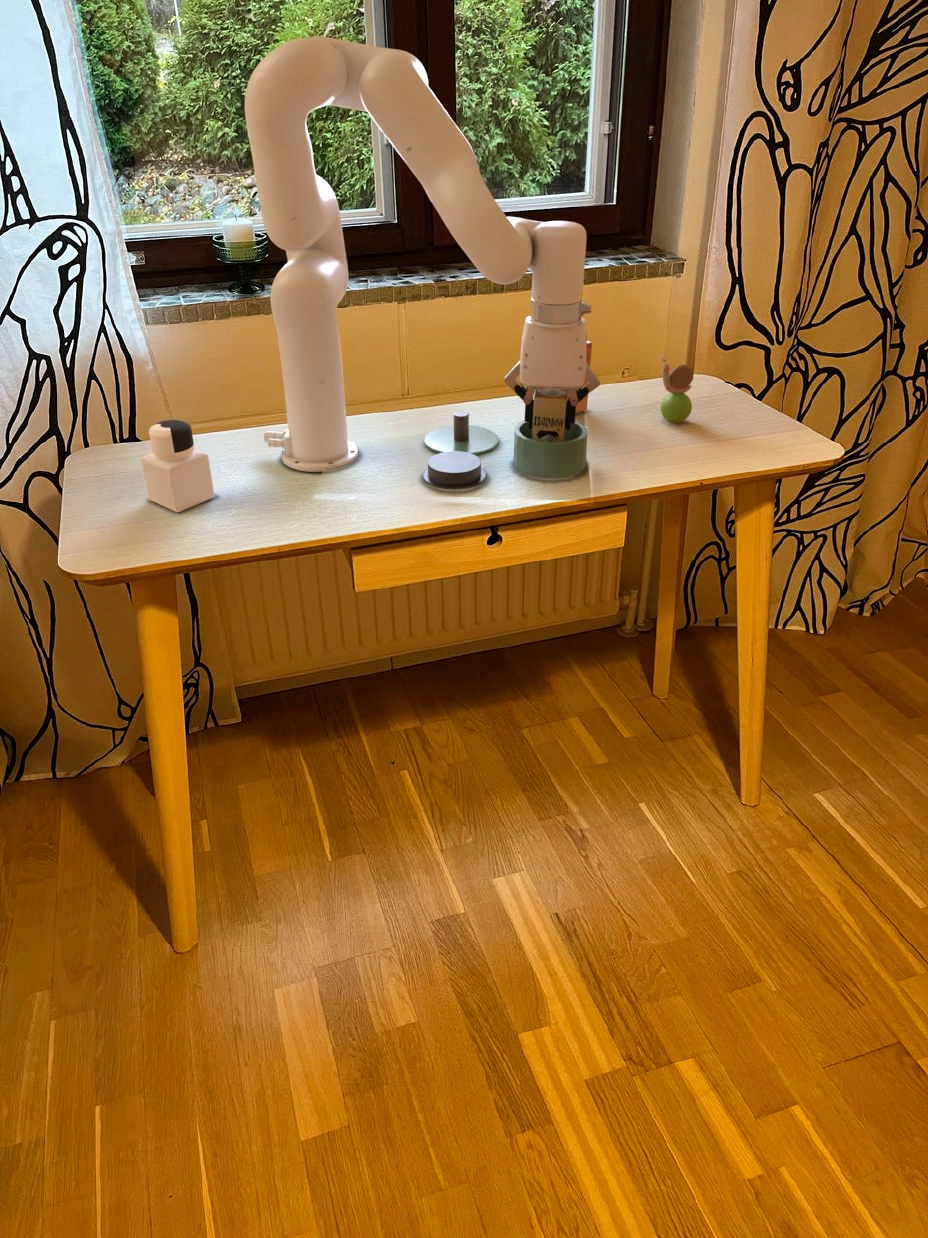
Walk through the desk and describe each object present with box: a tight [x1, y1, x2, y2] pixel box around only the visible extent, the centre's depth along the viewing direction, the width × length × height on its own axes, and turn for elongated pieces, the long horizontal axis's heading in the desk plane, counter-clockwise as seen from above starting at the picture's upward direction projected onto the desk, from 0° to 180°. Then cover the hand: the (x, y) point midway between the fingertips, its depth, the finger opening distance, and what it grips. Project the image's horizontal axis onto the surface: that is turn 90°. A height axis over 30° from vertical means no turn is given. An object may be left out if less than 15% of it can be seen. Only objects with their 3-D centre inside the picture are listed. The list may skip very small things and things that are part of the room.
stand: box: [422, 451, 487, 491], centre depth 154 cm, size 10×10×3 cm
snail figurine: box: [660, 356, 694, 424], centre depth 171 cm, size 5×6×12 cm
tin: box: [513, 419, 588, 479], centre depth 157 cm, size 12×12×6 cm
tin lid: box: [423, 410, 499, 456], centre depth 165 cm, size 13×13×6 cm
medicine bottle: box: [141, 419, 215, 513], centre depth 145 cm, size 7×7×12 cm
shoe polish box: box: [532, 387, 568, 442], centre depth 155 cm, size 5×5×12 cm
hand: (549, 425), depth 155 cm, fingers closed on shoe polish box, 5 cm apart
